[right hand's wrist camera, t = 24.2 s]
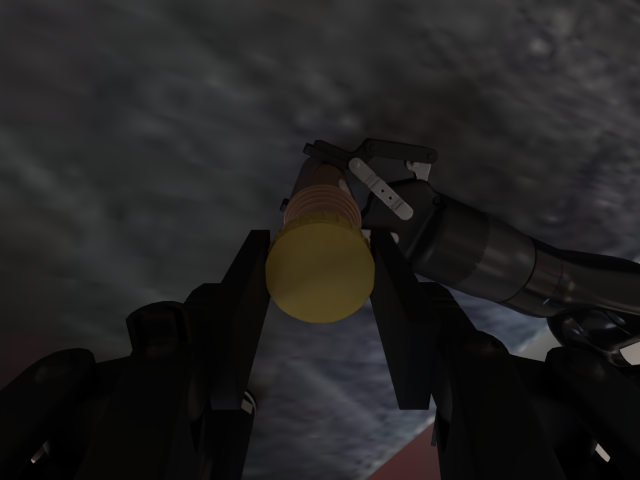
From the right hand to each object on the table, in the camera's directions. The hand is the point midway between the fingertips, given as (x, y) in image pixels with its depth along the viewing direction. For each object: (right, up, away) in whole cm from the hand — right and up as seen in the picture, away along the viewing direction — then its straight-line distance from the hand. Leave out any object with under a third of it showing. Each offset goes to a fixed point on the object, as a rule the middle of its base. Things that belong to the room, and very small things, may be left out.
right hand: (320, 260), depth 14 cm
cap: (0, 0, -1) cm, 1 cm away
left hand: (-2, +6, +15) cm, 16 cm away
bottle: (0, +8, +22) cm, 23 cm away
